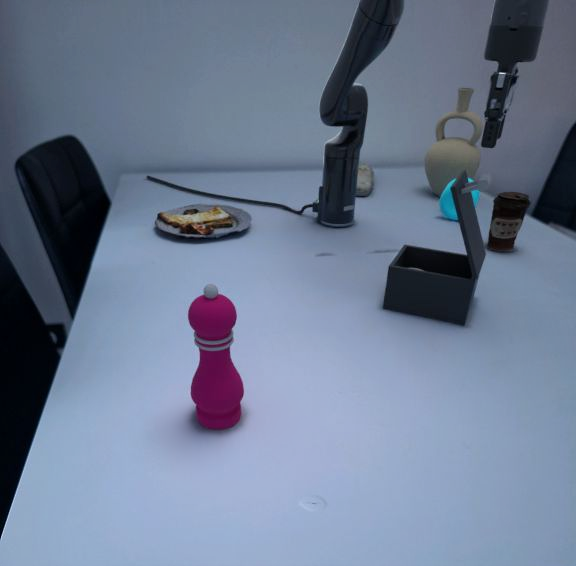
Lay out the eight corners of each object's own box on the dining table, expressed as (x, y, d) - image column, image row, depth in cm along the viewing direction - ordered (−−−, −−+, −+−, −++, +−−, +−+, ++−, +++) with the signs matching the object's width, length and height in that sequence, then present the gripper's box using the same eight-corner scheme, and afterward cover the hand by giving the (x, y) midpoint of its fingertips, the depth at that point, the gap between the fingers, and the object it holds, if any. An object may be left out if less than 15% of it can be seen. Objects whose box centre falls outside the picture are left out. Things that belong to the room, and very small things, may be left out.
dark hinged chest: (382, 308, 103) (388, 266, 98) (398, 284, 113) (404, 244, 108) (464, 325, 99) (475, 281, 93) (473, 298, 108) (483, 257, 103)
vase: (478, 193, 173) (502, 88, 156) (463, 205, 161) (486, 93, 144) (429, 185, 180) (447, 84, 163) (411, 196, 169) (427, 88, 151)
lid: (449, 187, 87) (483, 176, 84) (461, 171, 97) (491, 161, 94) (473, 279, 93) (505, 272, 91) (481, 255, 103) (510, 248, 100)
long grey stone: (342, 200, 167) (374, 203, 167) (345, 183, 164) (377, 186, 164) (344, 167, 195) (371, 170, 194) (346, 152, 191) (373, 155, 191)
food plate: (171, 249, 127) (169, 234, 125) (145, 220, 143) (143, 207, 141) (265, 234, 136) (265, 220, 134) (231, 209, 153) (230, 196, 151)
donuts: (435, 218, 150) (442, 182, 144) (441, 209, 158) (447, 174, 152) (472, 224, 147) (480, 186, 141) (475, 214, 155) (483, 178, 149)
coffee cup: (520, 256, 128) (535, 201, 121) (484, 252, 129) (497, 198, 122) (514, 243, 135) (529, 191, 128) (481, 240, 136) (493, 188, 129)
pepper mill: (194, 401, 78) (182, 272, 66) (244, 399, 78) (240, 272, 67) (191, 433, 72) (177, 298, 60) (245, 431, 72) (241, 297, 61)
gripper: (495, 22, 84) (473, 134, 93) (484, 22, 73) (460, 148, 83) (545, 23, 82) (518, 138, 91) (542, 23, 71) (511, 153, 80)
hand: (490, 142), depth 87 cm, fingers open, 8 cm apart
